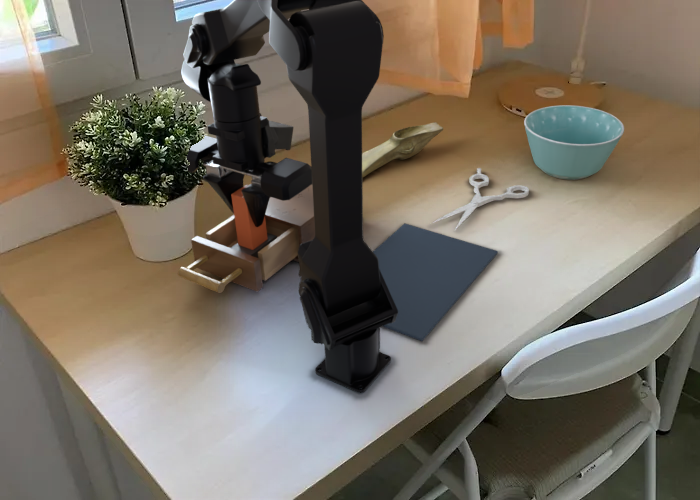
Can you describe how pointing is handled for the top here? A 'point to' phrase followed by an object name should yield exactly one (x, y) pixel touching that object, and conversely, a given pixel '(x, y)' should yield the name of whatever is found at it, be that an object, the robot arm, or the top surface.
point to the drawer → (239, 257)
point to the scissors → (484, 197)
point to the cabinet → (295, 214)
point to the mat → (427, 275)
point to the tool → (399, 146)
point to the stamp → (248, 228)
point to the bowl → (571, 139)
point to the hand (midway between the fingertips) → (250, 222)
